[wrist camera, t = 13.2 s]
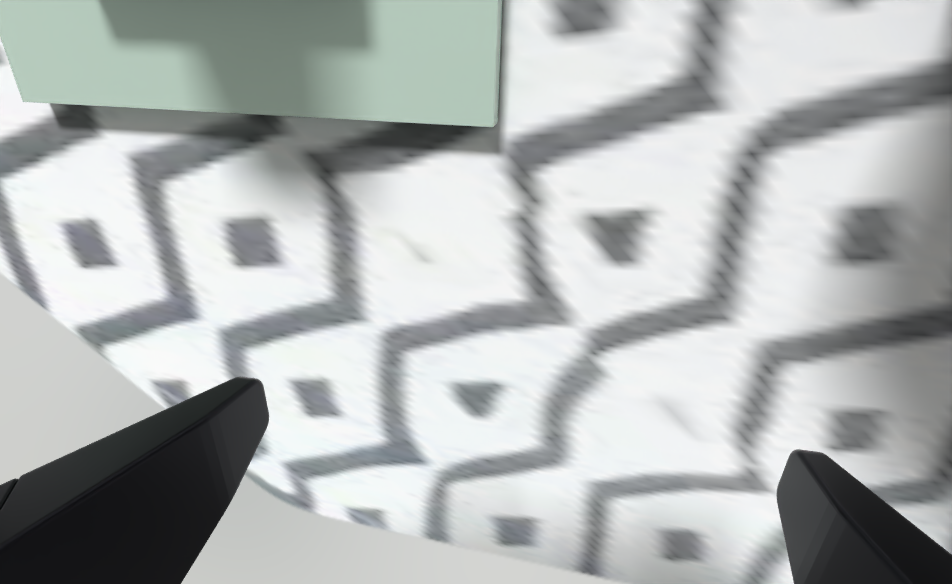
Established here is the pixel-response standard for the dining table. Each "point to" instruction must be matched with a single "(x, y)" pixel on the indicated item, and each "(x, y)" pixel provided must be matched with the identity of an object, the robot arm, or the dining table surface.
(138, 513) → the robot arm
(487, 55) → the socket board
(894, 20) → the dining table surface
